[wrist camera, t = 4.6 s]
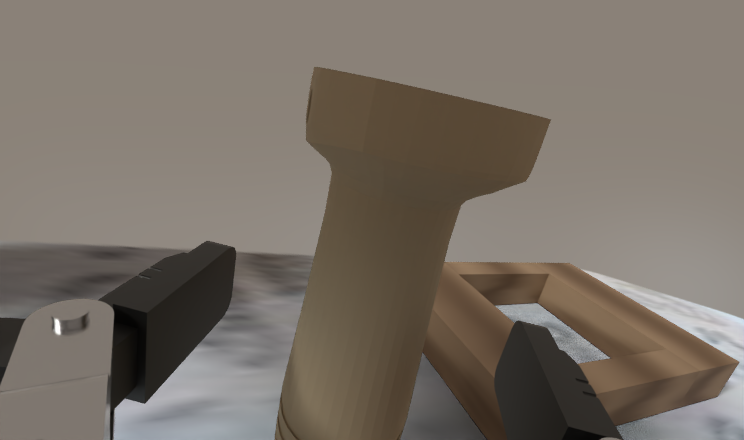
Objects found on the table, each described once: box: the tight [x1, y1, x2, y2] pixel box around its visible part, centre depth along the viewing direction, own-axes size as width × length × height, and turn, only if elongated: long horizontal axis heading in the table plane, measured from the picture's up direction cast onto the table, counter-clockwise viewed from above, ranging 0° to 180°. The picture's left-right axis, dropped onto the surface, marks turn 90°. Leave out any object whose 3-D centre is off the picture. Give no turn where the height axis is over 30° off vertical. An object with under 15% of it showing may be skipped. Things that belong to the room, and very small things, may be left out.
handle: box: [275, 67, 551, 440], centre depth 11 cm, size 5×6×15 cm
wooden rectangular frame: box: [422, 262, 739, 440], centre depth 28 cm, size 20×14×3 cm
